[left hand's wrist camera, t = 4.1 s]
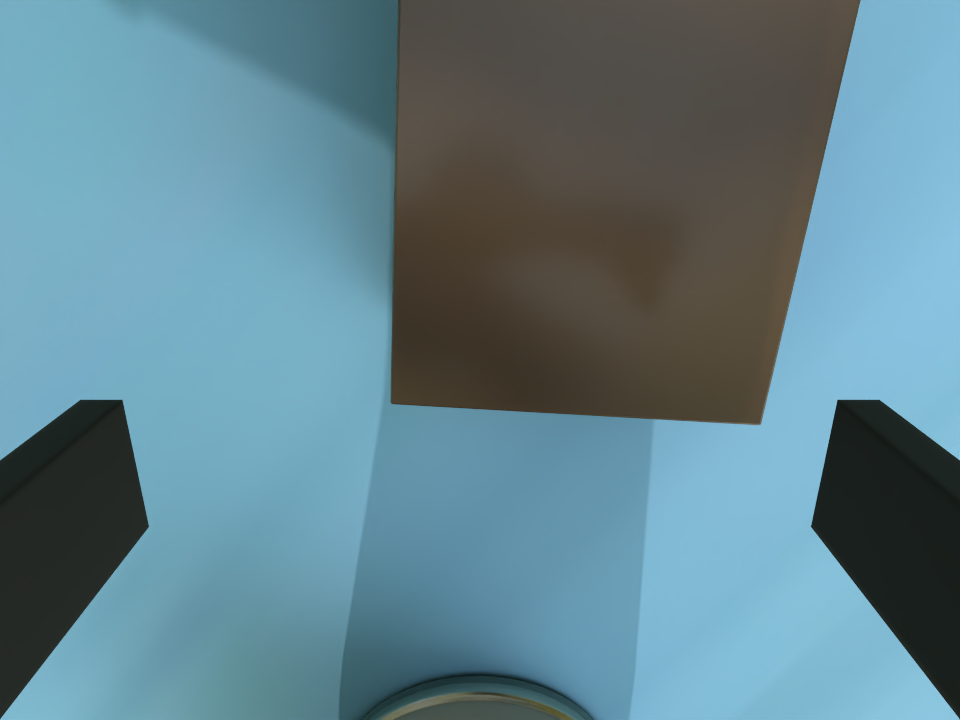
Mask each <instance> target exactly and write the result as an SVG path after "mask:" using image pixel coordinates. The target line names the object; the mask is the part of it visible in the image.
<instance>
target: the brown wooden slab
mask: <svg viewBox="0 0 960 720" xmlns="http://www.w3.org/2000/svg"><path fill="white" fill-rule="evenodd" d="M859 4H860V0H398V45H397V96H396V148H395V199H394V250H393V302H392V353H391V404H401V405H418V406H435V407H453V408H470V409H488V410H505V411H523V412H540V413H557V414H575V415H592V416H610V417H627V418H644V419H662V420H679V421H697V422H714V423H732V424H749V425H760V424H761V421H762V417H763V413H764V409H765V404H766V400H767V396H768V392H769V387H770V383H771V379H772V375H773V370H774V366H775V362H776V358H777V353H778V349H779V345H780V341H781V336H782V332H783V328H784V324H785V319H786V315H787V311H788V306H789V302H790V298H791V294H792V289H793V285H794V281H795V277H796V272H797V268H798V264H799V260H800V255H801V251H802V247H803V243H804V238H805V234H806V230H807V226H808V221H809V217H810V213H811V209H812V204H813V200H814V196H815V191H816V187H817V183H818V179H819V174H820V170H821V166H822V162H823V157H824V153H825V149H826V145H827V140H828V136H829V132H830V128H831V123H832V119H833V115H834V111H835V106H836V102H837V98H838V93H839V89H840V85H841V81H842V76H843V72H844V68H845V64H846V59H847V55H848V51H849V47H850V42H851V38H852V34H853V30H854V25H855V21H856V17H857V13H858V8H859Z"/></svg>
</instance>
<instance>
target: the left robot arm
mask: <svg viewBox="0 0 960 720" xmlns="http://www.w3.org/2000/svg"><path fill="white" fill-rule="evenodd" d="M148 527H149V525H148V520H147V515H146V511H145V506H144V501H143V496H142V492H141V487H140V482H139V477H138V472H137V468H136V463H135V458H134V453H133V449H132V444H131V439H130V434H129V429H128V425H127V420H126V415H125V410H124V406H123V401H122V400H80V401H79V402H77V403H76V404H75V405H73V406H72V407H71V408H69V409H68V410H67V411H65V412H64V413H63V414H61V415H60V416H59V417H57V418H56V419H55V420H53V421H52V422H51V423H49V424H48V425H47V426H45V427H44V428H43V429H41V430H40V431H39V432H37V433H36V434H35V435H33V436H32V437H31V438H29V439H28V440H27V441H25V442H24V443H23V444H22V445H20V446H19V447H18V448H16V449H15V450H14V451H12V452H11V453H10V454H8V455H7V456H6V457H4V458H3V459H2V460H0V719H1V717H2V716H3V715H4V713H5V712H6V711H7V709H8V708H9V707H10V706H11V704H12V703H13V702H14V700H15V699H16V698H17V697H18V695H19V694H20V693H21V691H22V690H23V689H24V688H25V686H26V685H27V684H28V682H29V681H30V680H31V678H32V677H33V676H34V675H35V673H36V672H37V671H38V669H39V668H40V667H41V666H42V664H43V663H44V662H45V660H46V659H47V658H48V656H49V655H50V654H51V653H52V651H53V650H54V649H55V647H56V646H57V645H58V644H59V642H60V641H61V640H62V638H63V637H64V636H65V635H66V633H67V632H68V631H69V629H70V628H71V627H72V625H73V624H74V623H75V622H76V620H77V619H78V618H79V616H80V615H81V614H82V613H83V611H84V610H85V609H86V607H87V606H88V605H89V603H90V602H91V601H92V600H93V598H94V597H95V596H96V594H97V593H98V592H99V591H100V589H101V588H102V587H103V585H104V584H105V583H106V582H107V580H108V579H109V578H110V576H111V575H112V574H113V572H114V571H115V570H116V569H117V567H118V566H119V565H120V563H121V562H122V561H123V560H124V558H125V557H126V556H127V554H128V553H129V552H130V550H131V549H132V548H133V547H134V545H135V544H136V543H137V541H138V540H139V539H140V538H141V536H142V535H143V534H144V532H145V531H146V530H147V528H148ZM811 527H812V528H813V530H814V531H815V532H816V534H817V535H818V536H819V538H820V539H821V540H822V541H823V543H824V544H825V545H826V547H827V548H828V549H829V550H830V552H831V553H832V554H833V556H834V557H835V558H836V560H837V561H838V562H839V563H840V565H841V566H842V567H843V569H844V570H845V571H846V572H847V574H848V575H849V576H850V578H851V579H852V580H853V582H854V583H855V584H856V585H857V587H858V588H859V589H860V591H861V592H862V593H863V594H864V596H865V597H866V598H867V600H868V601H869V602H870V603H871V605H872V606H873V607H874V609H875V610H876V611H877V613H878V614H879V615H880V616H881V618H882V619H883V620H884V622H885V623H886V624H887V625H888V627H889V628H890V629H891V631H892V632H893V633H894V635H895V636H896V637H897V638H898V640H899V641H900V642H901V644H902V645H903V646H904V647H905V649H906V650H907V651H908V653H909V654H910V655H911V656H912V658H913V659H914V660H915V662H916V663H917V664H918V666H919V667H920V668H921V669H922V671H923V672H924V673H925V675H926V676H927V677H928V678H929V680H930V681H931V682H932V684H933V685H934V686H935V688H936V689H937V690H938V691H939V693H940V694H941V695H942V697H943V698H944V699H945V700H946V702H947V703H948V704H949V706H950V707H951V708H952V709H953V711H954V712H955V713H956V715H957V716H958V717H959V719H960V460H958V459H957V458H956V457H954V456H953V455H952V454H950V453H949V452H948V451H946V450H945V449H944V448H942V447H941V446H940V445H938V444H937V443H936V442H935V441H933V440H932V439H931V438H929V437H928V436H927V435H925V434H924V433H923V432H921V431H920V430H919V429H917V428H916V427H915V426H913V425H912V424H911V423H909V422H908V421H907V420H905V419H904V418H903V417H901V416H900V415H899V414H897V413H896V412H895V411H893V410H892V409H891V408H889V407H888V406H887V405H885V404H884V403H883V402H881V401H880V400H838V401H837V406H836V410H835V415H834V420H833V425H832V429H831V434H830V439H829V444H828V449H827V453H826V458H825V463H824V468H823V472H822V477H821V482H820V487H819V492H818V496H817V501H816V506H815V511H814V515H813V520H812V525H811ZM362 720H593V719H592V718H591V717H590V716H589V715H588V714H587V713H586V712H585V711H583V710H582V709H581V708H580V707H578V706H577V705H576V704H574V703H573V702H571V701H569V700H568V699H566V698H565V697H563V696H561V695H559V694H557V693H555V692H553V691H550V690H548V689H546V688H543V687H541V686H538V685H534V684H531V683H528V682H524V681H520V680H515V679H510V678H503V677H494V676H461V677H451V678H445V679H439V680H435V681H431V682H427V683H423V684H420V685H417V686H414V687H411V688H409V689H407V690H404V691H402V692H400V693H398V694H396V695H394V696H392V697H390V698H388V699H387V700H385V701H384V702H382V703H381V704H379V705H378V706H376V707H375V708H374V709H373V710H371V711H370V712H369V713H368V714H367V715H366V716H365V717H364V718H363V719H362Z"/></svg>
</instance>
